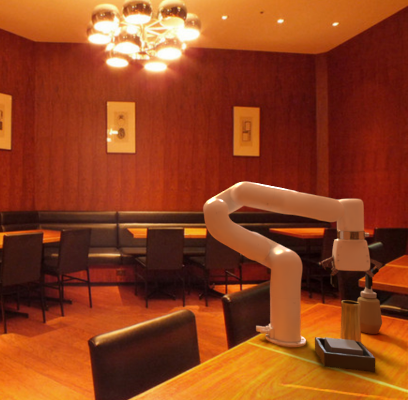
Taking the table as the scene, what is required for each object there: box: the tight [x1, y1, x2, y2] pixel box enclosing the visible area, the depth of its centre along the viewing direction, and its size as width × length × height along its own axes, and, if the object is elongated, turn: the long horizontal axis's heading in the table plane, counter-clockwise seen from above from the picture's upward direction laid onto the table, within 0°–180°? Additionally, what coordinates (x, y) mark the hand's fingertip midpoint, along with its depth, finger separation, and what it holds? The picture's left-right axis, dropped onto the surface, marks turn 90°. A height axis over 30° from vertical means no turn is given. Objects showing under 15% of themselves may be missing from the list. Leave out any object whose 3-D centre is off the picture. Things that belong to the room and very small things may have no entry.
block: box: [324, 337, 363, 356], centre depth 112 cm, size 8×8×5 cm
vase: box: [339, 299, 362, 343], centre depth 125 cm, size 6×6×14 cm
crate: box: [314, 337, 376, 374], centre depth 112 cm, size 13×13×4 cm
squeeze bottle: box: [356, 286, 383, 335], centre depth 137 cm, size 8×8×18 cm
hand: (351, 287), depth 125 cm, fingers open, 9 cm apart
